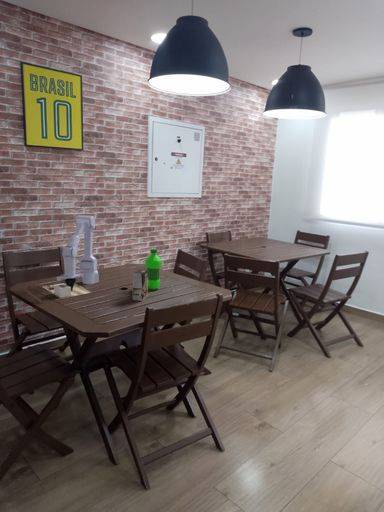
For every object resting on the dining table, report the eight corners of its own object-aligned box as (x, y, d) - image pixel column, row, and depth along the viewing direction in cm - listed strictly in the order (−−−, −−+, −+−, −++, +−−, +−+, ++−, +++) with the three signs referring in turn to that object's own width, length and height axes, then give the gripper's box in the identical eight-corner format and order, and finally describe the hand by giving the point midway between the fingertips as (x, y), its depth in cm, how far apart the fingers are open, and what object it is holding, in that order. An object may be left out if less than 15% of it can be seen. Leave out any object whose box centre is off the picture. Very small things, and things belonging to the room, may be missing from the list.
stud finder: (64, 291, 211) (63, 282, 210) (71, 295, 205) (70, 286, 204) (53, 293, 207) (53, 284, 206) (60, 297, 201) (60, 288, 200)
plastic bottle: (147, 285, 236) (148, 247, 231) (162, 287, 234) (164, 248, 229) (142, 289, 227) (142, 250, 221) (158, 291, 225) (159, 251, 219)
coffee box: (142, 301, 206) (143, 273, 203) (132, 299, 208) (132, 272, 204) (148, 296, 215) (148, 269, 212) (137, 295, 216) (138, 268, 213)
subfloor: (72, 283, 232) (72, 281, 232) (91, 294, 213) (91, 292, 213) (42, 288, 219) (42, 286, 219) (60, 300, 201) (60, 298, 200)
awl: (64, 284, 226) (64, 274, 225) (67, 285, 224) (66, 275, 222) (59, 284, 224) (59, 274, 222) (62, 286, 222) (61, 275, 220)
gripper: (60, 271, 198) (60, 295, 201) (85, 267, 208) (85, 290, 211) (55, 268, 204) (55, 291, 206) (79, 265, 213) (79, 287, 216)
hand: (70, 290), depth 209 cm, fingers closed
